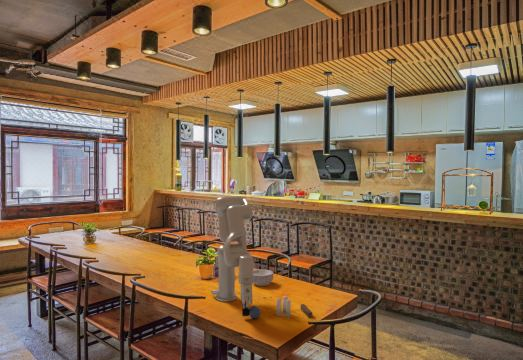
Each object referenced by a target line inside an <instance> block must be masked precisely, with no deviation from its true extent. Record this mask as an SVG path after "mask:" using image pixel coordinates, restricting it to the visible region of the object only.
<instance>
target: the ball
mask: <svg viewBox="0 0 523 360" xmlns="http://www.w3.org/2000/svg"><path fill="white" fill-rule="evenodd" d="M260 315H261V309H260V308H259V306H257V305H252V306H251V307H249V317H250V318H252V319H257V318H259V317H260Z"/></svg>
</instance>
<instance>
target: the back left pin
mask: <svg viewBox="0 0 523 360" xmlns="http://www.w3.org/2000/svg"><path fill="white" fill-rule="evenodd" d="M288 298H289V297H288V296H287V295H283V298H282V313H283V314H284V315H286V300H287V299H288Z"/></svg>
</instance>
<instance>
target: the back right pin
mask: <svg viewBox="0 0 523 360" xmlns="http://www.w3.org/2000/svg"><path fill="white" fill-rule="evenodd" d="M291 303H292V302H291V299H287V300H286V314H285V318H287V319H291V307H292V306H291V305H292V304H291Z"/></svg>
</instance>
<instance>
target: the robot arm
mask: <svg viewBox="0 0 523 360" xmlns="http://www.w3.org/2000/svg"><path fill="white" fill-rule="evenodd" d="M214 206H215V207H214V208H215V211H216V215H217V218H218V233H219V240H220V241H221V242H222V243H224V244H222V245H220V246H219V247H218V248H217V251H216V252H217V254H218V262H219V276H218V289H212V290H211V291H210V292H211V294H212V295H213V296H214V295H215V299H216V300H217V301H220V302H223V303H225V302H228V303H229V302H234V301H236V300H237V299H238V295H237V294H236V292H235V291H236V289H235V287H236V285H235V284H236V277H235V276H236V269H235V268H237V267H238V284H240V299H241V302H242V310H241V311H242V312H241V313H242V317H248V316H249V317H250V315H249V309H250V304H251V305H252V304H253V284H254V282H253V275H254V270H255V268H254V266H255V265H254V259H255V258H254V256H253V255H252V254H251V252H249V251H248V247H247V246H248V245H247V242H248V241H247V231H246V229H245V224H244V221H246V220H247V221H248V220H251V219H252V217H253V210H252V206H251V205H250V203H249V201H248V200H247V199H246V198H245V197H244V196H230V195H229V196H221V197H218V198H216V200H215V205H214ZM235 242H237V243H235Z"/></svg>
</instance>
